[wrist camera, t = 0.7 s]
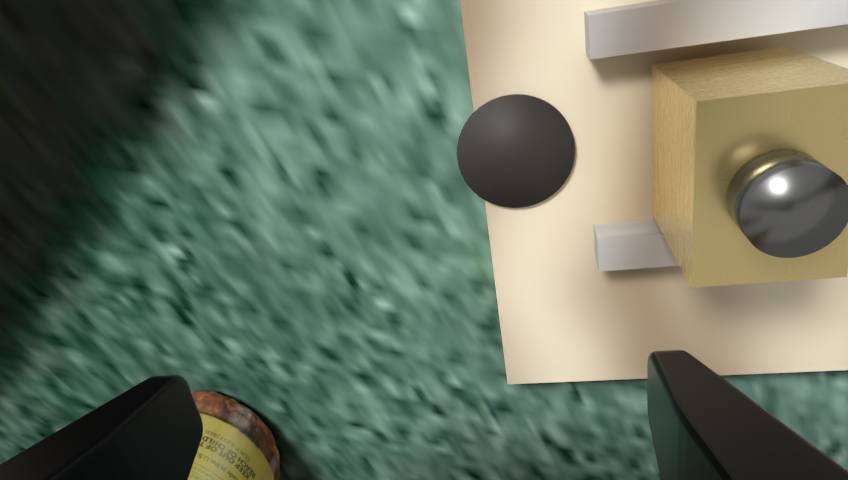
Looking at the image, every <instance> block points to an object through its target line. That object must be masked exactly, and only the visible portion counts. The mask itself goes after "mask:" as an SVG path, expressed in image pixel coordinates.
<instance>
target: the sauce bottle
mask: <svg viewBox="0 0 848 480" xmlns="http://www.w3.org/2000/svg"><path fill="white" fill-rule="evenodd" d="M191 393H192V396H193V398H194V401H195V403H196V406H197V408H198V411H199V413H200V416H201V418H202V423H203V434H202V439H201V442H200V445H199V448H198V451H197V454H196V457H195V460H194V463H193V466H192V468H191V471H190V474H189V477H188V480H279V477H280V453H279V451H278V449H277V448H276V442H275V439H274V437H273V434H272V432H271V430H270V429H269V428H268V427H267V426H266V425H265V423H264V422H263V421H262V420H261V419H260V418H259V417H258V416H257V415H256V414H255V413H253V412H252V411H251V410H250V409H249V408H247V407H245V406H244V405H241V404H240V403H238V401H236V400H235V399H231V398H229V397H227V396H224V395H222V394H219V393H217V392H215V391H209V392H208V391H191Z"/></svg>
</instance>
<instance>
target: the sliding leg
mask: <svg viewBox="0 0 848 480" xmlns="http://www.w3.org/2000/svg"><path fill="white" fill-rule="evenodd" d="M652 215H653V217H654V219H655V221H656V223H657V225H658V226H659V228H660V230H661V232H662V234H663V236H664V238H665V240H666V242H667V244H668V245H669V247H670V249H671V251H672V253H673V255H674V257H675V259H676V261H677V263H678V264H679V266H680V268H681V270H682V272H683V274H684V276H685V278H686V280H687V282H688V283H689V285H690V287H691V288H693V287H707V286H722V285H737V284H752V283H767V282H782V281H796V280H811V279H826V278H841V277H847V273H848V69H847V68H844V67H841V66H838V65H836V64H833V63H830V62H827V61H825V60H822V59H819V58H816V57H814V56H811V55H808V54H805V53H803V52H800V51H797V50H794V49H791V48H789V47H786V46H783V47H776V48H768V49H761V50H753V51H746V52H738V53H731V54H723V55H716V56H708V57H701V58H693V59H686V60H678V61H671V62H663V63H656V64H652Z"/></svg>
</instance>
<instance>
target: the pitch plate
mask: <svg viewBox="0 0 848 480" xmlns="http://www.w3.org/2000/svg"><path fill="white" fill-rule="evenodd" d="M460 5H461V13H462V21H463V29H464V37H465V45H466V53H467V61H468V69H469V78H470V86H471V94H472V102H473V110H474V113H473V114H472V115H471V116H470V117H469V119H468V120H467V122H466V123H465V125H464V127H463V129H462V131H461V134H460V137H459V141H458V147H457V158H458V165H459V169H460V171H461V174H462V176H463V178H464V180H465V182H466V183H467V184H468V186H469V187H470V188H471V189H472V190H473V191H474V192H475V193H476V194H477V195H478V196H479V197H481V198H483V199H484V200H485V206H486V214H487V222H488V230H489V238H490V246H491V254H492V262H493V270H494V278H495V286H496V294H497V302H498V310H499V318H500V326H501V334H502V342H503V350H504V358H505V366H506V375H507V383H508V384H527V383H551V382H575V381H599V380H623V379H647V361H648V356H649V354H650V353H651V352H653V351H668V350H684V351H686V352H688V353H690V354H691V355H692V356H694V357H695V358H696V359H698V360H699V361H700V362H702V363H703V364H704V365H706V366H707V367H708V368H710V369H711V370H712V371H714V372H715V373H717V374H718V375H743V374H766V373H790V372H814V371H838V370H848V273H847V277H841V278H826V279H811V280H796V281H782V282H767V283H752V284H737V285H722V286H707V287H693V288H691V287H690V285H689V283H688V282H687V280H686V278H685V276H684V274H683V272H682V270H681V268H680V266H679V264H678V263H677V261H676V259H675V257H674V255H673V253H672V251H671V249H670V247H669V245H668V244H667V242H666V240H665V238H664V236H663V234H662V232H661V230H660V228H659V226H658V225H657V223H656V221H655V219H654V217H653V215H652V64H656V63H663V62H671V61H678V60H686V59H693V58H701V57H708V56H716V55H723V54H731V53H738V52H746V51H753V50H761V49H768V48H776V47H783V46H786V47H789V48H791V49H794V50H797V51H800V52H803V53H805V54H808V55H811V56H814V57H816V58H819V59H822V60H825V61H827V62H830V63H833V64H836V65H838V66H841V67H844V68H847V69H848V0H460Z"/></svg>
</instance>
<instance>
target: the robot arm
mask: <svg viewBox="0 0 848 480" xmlns="http://www.w3.org/2000/svg"><path fill="white" fill-rule="evenodd" d="M647 394H648V417H649V423H650V428H651V433H652V438H653V443H654V447H655V452H656V457H657V462H658V467H659V471H660V476H661V480H848V471H847V470H846V469H844V468H843V467H841V466H840V465H839V464H837V463H836V462H835V461H833V460H832V459H831V458H829V457H828V456H827V455H825V454H824V453H823V452H821V451H820V450H819V449H817V448H816V447H815V446H813V445H812V444H811V443H809V442H808V441H807V440H805V439H804V438H803V437H801V436H800V435H798V434H797V433H796V432H794V431H793V430H792V429H790V428H789V427H788V426H786V425H785V424H784V423H782V422H781V421H780V420H778V419H777V418H776V417H774V416H773V415H772V414H770V413H769V412H768V411H766V410H765V409H764V408H762V407H761V406H760V405H758V404H757V403H755V402H754V401H753V400H751V399H750V398H749V397H747V396H746V395H745V394H743V393H742V392H741V391H739V390H738V389H737V388H735V387H734V386H733V385H731V384H730V383H729V382H727V381H726V380H725V379H723V378H722V377H721V376H719V375H718V374H717V373H715V372H714V371H712V370H711V369H710V368H708V367H707V366H706V365H704V364H703V363H702V362H700V361H699V360H698V359H696V358H695V357H694V356H692V355H691V354H690V353H688V352H686V351H684V350H668V351H653V352H651V353H650V354H649V356H648V361H647ZM202 434H203V423H202V418H201V416H200V413H199V411H198V408H197V406H196V403H195V401H194V398H193V396H192V393H191V391H190V388H189V386H188V383H187V381H186V380H185V379H184V378H183V377H181V376H179V375H166V376H154V377H151V378H148V379H147V380H145V381H143V382H142V383H140V384H138V385H136V386H135V387H133V388H131V389H129V390H128V391H126V392H124V393H123V394H121V395H119V396H117V397H116V398H114V399H112V400H111V401H109V402H107V403H105V404H104V405H102V406H100V407H98V408H97V409H95V410H93V411H92V412H90V413H88V414H86V415H85V416H83V417H81V418H80V419H78V420H76V421H74V422H73V423H71V424H69V425H68V426H66V427H64V428H62V429H61V430H59V431H57V432H55V433H54V434H52V435H50V436H49V437H47V438H45V439H43V440H42V441H40V442H38V443H37V444H35V445H33V446H31V447H30V448H28V449H26V450H24V451H23V452H21V453H19V454H18V455H16V456H14V457H12V458H11V459H9V460H7V461H6V462H4V463H2V464H0V480H188V477H189V474H190V471H191V468H192V466H193V463H194V460H195V457H196V454H197V451H198V448H199V445H200V442H201V439H202Z"/></svg>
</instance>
